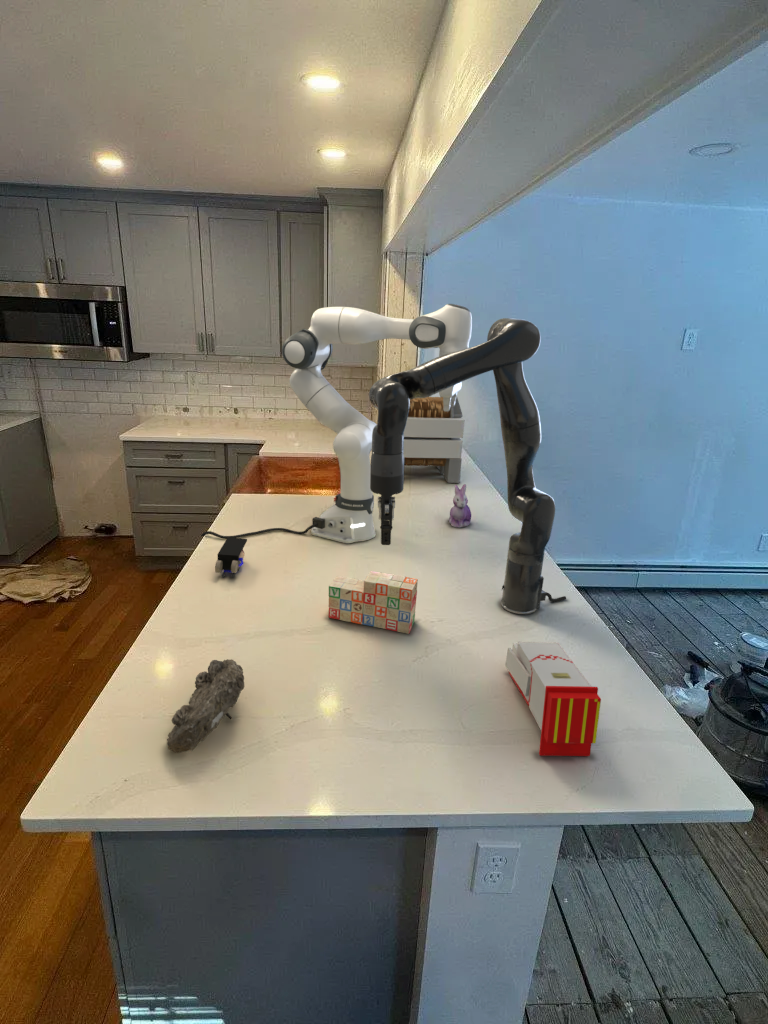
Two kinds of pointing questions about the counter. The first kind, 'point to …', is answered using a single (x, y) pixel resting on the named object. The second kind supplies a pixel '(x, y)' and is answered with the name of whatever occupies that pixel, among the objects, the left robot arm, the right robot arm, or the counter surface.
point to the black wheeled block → (230, 556)
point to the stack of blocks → (375, 601)
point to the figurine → (460, 508)
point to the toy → (556, 697)
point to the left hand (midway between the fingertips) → (449, 408)
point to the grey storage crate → (434, 436)
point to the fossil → (206, 705)
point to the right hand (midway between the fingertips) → (385, 537)
